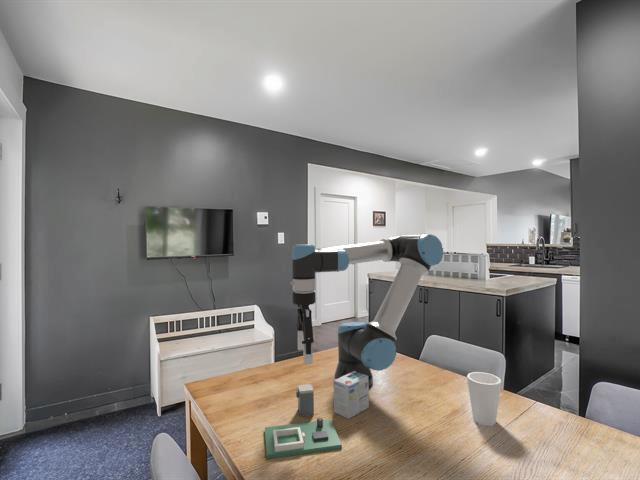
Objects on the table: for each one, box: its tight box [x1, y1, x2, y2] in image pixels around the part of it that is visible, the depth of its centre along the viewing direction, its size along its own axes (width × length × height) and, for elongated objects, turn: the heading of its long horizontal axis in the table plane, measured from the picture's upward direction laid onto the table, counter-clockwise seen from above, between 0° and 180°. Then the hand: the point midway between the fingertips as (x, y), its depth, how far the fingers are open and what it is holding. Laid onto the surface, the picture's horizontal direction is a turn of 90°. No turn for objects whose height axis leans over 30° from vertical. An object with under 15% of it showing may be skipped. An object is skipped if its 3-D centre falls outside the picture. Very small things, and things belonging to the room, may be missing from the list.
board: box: [264, 417, 342, 460], centre depth 95 cm, size 20×13×3 cm, turn 101°
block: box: [295, 383, 315, 417], centre depth 110 cm, size 5×4×8 cm
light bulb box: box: [333, 371, 370, 420], centre depth 111 cm, size 11×7×11 cm, turn 134°
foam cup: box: [466, 371, 502, 427], centre depth 104 cm, size 10×9×13 cm
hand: (304, 356), depth 110 cm, fingers open, 13 cm apart
